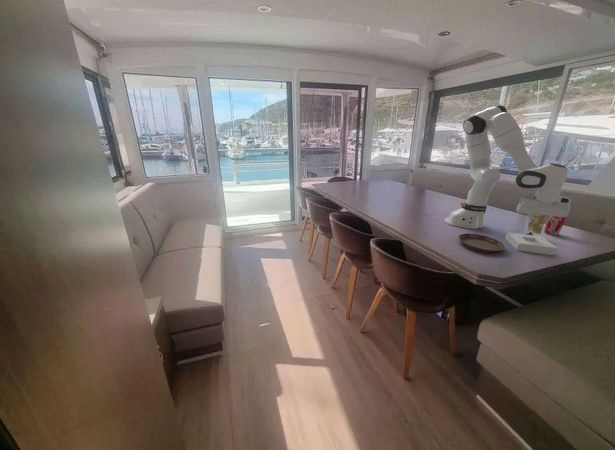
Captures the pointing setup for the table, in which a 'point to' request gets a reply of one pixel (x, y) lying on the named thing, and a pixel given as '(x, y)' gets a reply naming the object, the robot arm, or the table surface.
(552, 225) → the soda can
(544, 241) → the socket block
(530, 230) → the birch peg
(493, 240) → the plant saucer
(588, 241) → the table surface
